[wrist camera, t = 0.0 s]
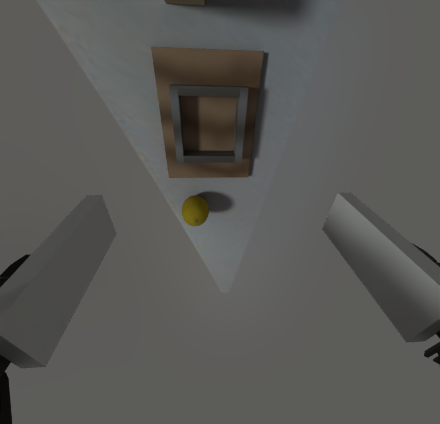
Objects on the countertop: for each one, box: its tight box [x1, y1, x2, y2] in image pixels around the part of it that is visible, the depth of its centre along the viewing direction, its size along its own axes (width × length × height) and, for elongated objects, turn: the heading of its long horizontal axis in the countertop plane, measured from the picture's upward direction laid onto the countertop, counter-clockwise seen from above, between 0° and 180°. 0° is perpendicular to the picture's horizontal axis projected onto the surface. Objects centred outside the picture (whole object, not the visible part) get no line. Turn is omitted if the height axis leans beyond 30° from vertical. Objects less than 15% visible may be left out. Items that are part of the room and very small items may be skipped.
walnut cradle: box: [151, 47, 264, 178], centre depth 33 cm, size 20×16×4 cm
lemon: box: [182, 196, 209, 226], centre depth 40 cm, size 6×6×8 cm
